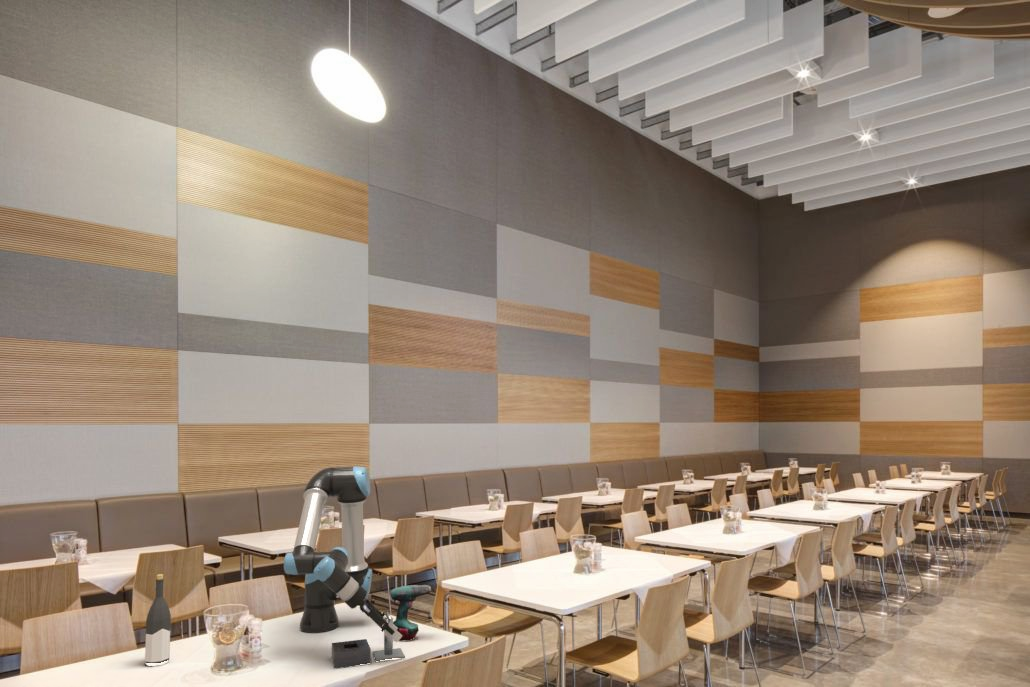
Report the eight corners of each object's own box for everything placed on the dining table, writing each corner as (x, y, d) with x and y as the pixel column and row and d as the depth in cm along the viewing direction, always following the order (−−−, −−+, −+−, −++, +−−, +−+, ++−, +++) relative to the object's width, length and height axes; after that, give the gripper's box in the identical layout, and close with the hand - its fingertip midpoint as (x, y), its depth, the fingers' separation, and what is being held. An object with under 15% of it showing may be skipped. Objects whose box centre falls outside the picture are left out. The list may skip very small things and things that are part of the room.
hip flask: (382, 650, 254) (382, 612, 255) (391, 649, 255) (391, 611, 256) (385, 658, 247) (386, 618, 248) (394, 657, 248) (394, 617, 249)
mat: (372, 653, 254) (372, 651, 254) (400, 650, 257) (400, 647, 257) (376, 662, 245) (376, 660, 245) (405, 658, 248) (405, 656, 248)
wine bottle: (165, 657, 255) (167, 571, 258) (173, 662, 249) (176, 574, 253) (141, 663, 250) (143, 575, 253) (148, 668, 244) (151, 578, 247)
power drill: (428, 642, 265) (428, 587, 268) (387, 641, 269) (387, 586, 271) (434, 637, 272) (434, 583, 275) (394, 635, 276) (394, 582, 278)
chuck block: (331, 657, 251) (331, 643, 251) (366, 653, 255) (366, 639, 255) (334, 668, 239) (334, 653, 240) (370, 664, 243) (370, 648, 244)
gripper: (341, 594, 259) (385, 634, 262) (346, 609, 238) (394, 652, 241) (356, 578, 261) (399, 618, 264) (363, 591, 240) (410, 634, 243)
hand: (397, 634), depth 253 cm, fingers open, 9 cm apart
